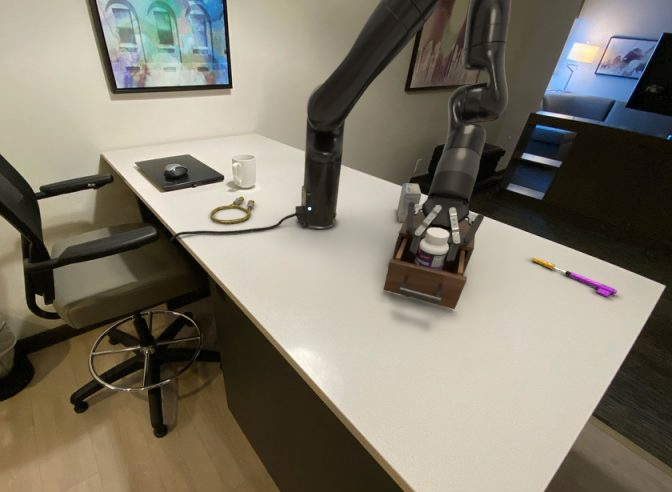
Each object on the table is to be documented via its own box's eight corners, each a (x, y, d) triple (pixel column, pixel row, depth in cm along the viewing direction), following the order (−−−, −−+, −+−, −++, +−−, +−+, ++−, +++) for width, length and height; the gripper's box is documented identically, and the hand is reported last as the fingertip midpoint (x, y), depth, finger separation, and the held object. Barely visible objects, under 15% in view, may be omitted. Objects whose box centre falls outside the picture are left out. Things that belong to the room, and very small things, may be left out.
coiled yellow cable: (269, 212, 97) (268, 206, 96) (224, 228, 88) (223, 221, 87) (244, 200, 104) (243, 194, 103) (200, 214, 95) (199, 207, 94)
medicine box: (414, 223, 92) (422, 193, 87) (398, 222, 93) (405, 192, 88) (411, 212, 98) (419, 183, 93) (396, 210, 99) (402, 182, 94)
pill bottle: (406, 269, 68) (417, 227, 63) (427, 265, 70) (441, 224, 64) (421, 284, 64) (435, 241, 58) (444, 280, 66) (460, 236, 60)
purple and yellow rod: (616, 293, 67) (533, 259, 77) (619, 289, 66) (534, 255, 77) (609, 300, 66) (526, 265, 77) (612, 296, 65) (528, 261, 76)
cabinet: (459, 283, 69) (474, 248, 64) (390, 266, 75) (398, 232, 69) (463, 253, 79) (475, 221, 74) (401, 240, 84) (409, 209, 79)
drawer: (452, 327, 57) (465, 297, 53) (376, 305, 62) (383, 275, 58) (458, 275, 70) (469, 248, 66) (395, 260, 75) (402, 233, 71)
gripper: (417, 163, 63) (392, 245, 62) (501, 174, 58) (475, 264, 57) (415, 182, 70) (392, 256, 69) (489, 193, 65) (466, 273, 64)
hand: (430, 259), depth 63 cm, fingers closed on pill bottle, 5 cm apart
